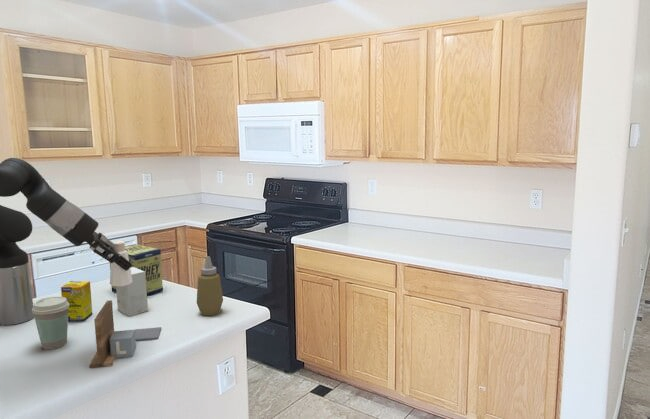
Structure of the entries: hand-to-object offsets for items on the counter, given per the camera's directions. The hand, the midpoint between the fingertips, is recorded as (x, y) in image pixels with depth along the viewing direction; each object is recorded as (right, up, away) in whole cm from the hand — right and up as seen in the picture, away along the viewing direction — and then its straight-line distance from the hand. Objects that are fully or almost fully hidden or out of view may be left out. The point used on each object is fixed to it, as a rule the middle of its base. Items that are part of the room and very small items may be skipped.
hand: (128, 265), depth 121 cm
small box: (-10, -18, +27) cm, 34 cm away
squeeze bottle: (+15, -18, +25) cm, 35 cm away
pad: (+1, -20, +9) cm, 22 cm away
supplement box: (-24, -19, +21) cm, 37 cm away
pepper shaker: (-2, -5, 0) cm, 5 cm away
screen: (-4, -22, -3) cm, 23 cm away
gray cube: (0, -22, -2) cm, 22 cm away
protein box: (-16, -15, +45) cm, 50 cm away
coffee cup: (-21, -22, +3) cm, 30 cm away
